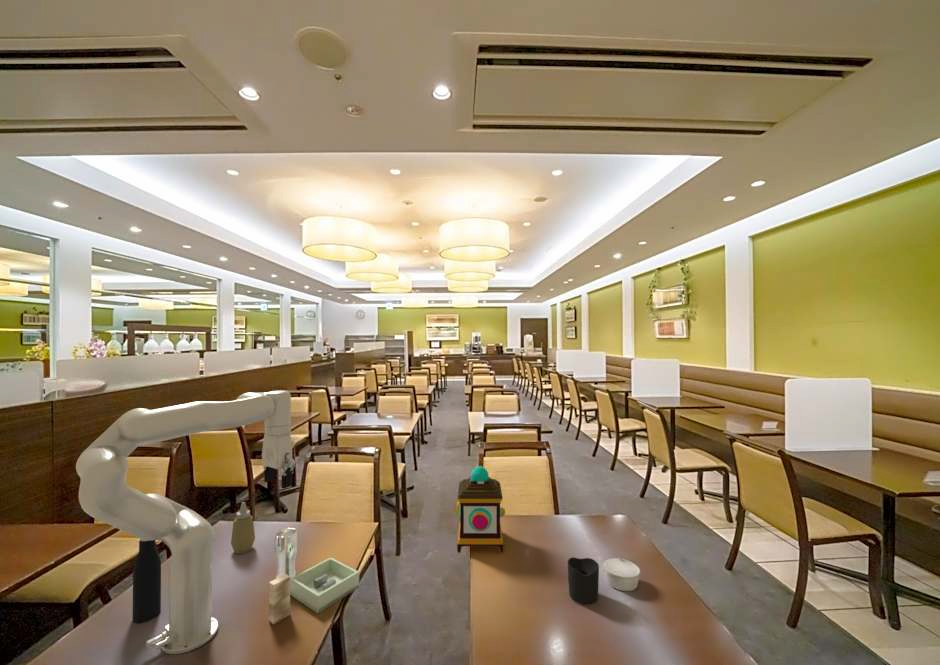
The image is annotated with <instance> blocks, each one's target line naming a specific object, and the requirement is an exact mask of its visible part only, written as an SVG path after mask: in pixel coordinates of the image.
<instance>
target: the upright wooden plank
mask: <svg viewBox="0 0 940 665" xmlns="http://www.w3.org/2000/svg"><path fill="white" fill-rule="evenodd" d="M290 615H291V595H290V576H288V575H287V574H284V575H282V576H280V577H278V578H277V579H276V578H274V579H273V580H270V581H269V582H268V622H270V623H271V624H272V625H275V624H277V623H279V622H280V621H281V620H283V619H285V618H286V617H287V618H288V617H289V616H290Z"/></svg>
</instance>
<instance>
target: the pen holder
mask: <svg viewBox="0 0 940 665" xmlns="http://www.w3.org/2000/svg"><path fill="white" fill-rule="evenodd" d="M599 568H600V565H599V563H598V562H597V560H594V559H592V558H590V557H584V558H577V557H575V556H574V557H573V556H572V557H569V559H567V578H568V593H569V596H570V598H571V600H572V601H574V600H575V601H576V602H575V601H574V602H575V603H577V602H578V603H577V604H580V603H582V604H581V605H584V604H590V605H593V604H596V602H597V601H598V600H599V599H598V597H599V575H600V574H599V573H600V569H599ZM592 603H593V604H592Z"/></svg>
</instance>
